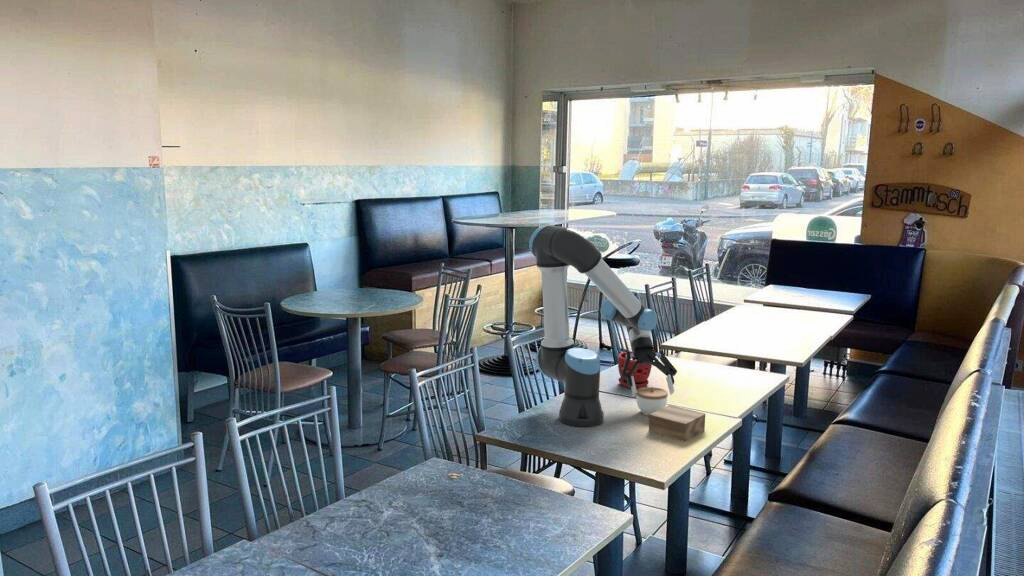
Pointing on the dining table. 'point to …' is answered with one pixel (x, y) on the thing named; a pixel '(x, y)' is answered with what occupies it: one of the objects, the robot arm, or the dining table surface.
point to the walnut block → (677, 422)
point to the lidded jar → (651, 399)
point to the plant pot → (639, 373)
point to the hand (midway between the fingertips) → (653, 393)
